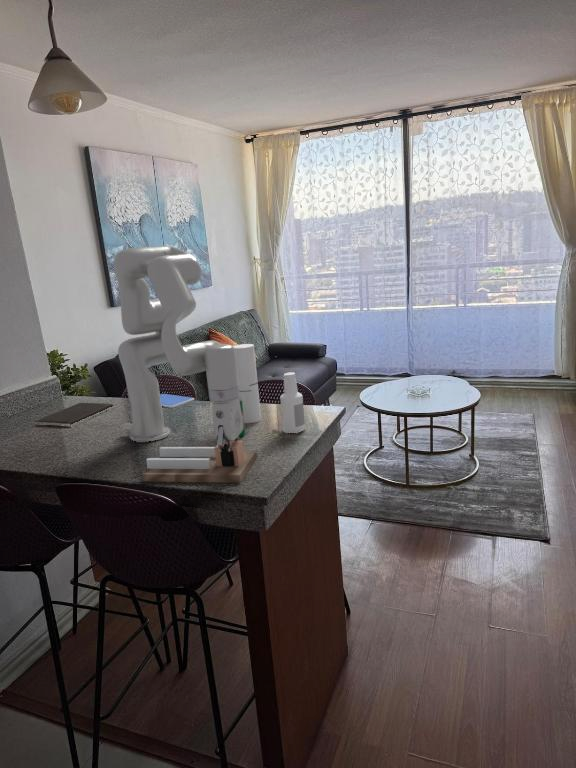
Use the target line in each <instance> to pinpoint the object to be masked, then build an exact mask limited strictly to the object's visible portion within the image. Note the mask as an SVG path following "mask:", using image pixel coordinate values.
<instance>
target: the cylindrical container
mask: <svg viewBox="0 0 576 768" xmlns="http://www.w3.org/2000/svg"><path fill="white" fill-rule="evenodd" d="M232 346H233V348H234V351H235V359H236V368H237V378H238V387H239V396H240V397H241V400H242V404H243V413H244V423H245V424H253V423H258V422H260V421H261V420H262V414H261V402H260V393H259V383H258V374H257V373H258V372H257V364H256V363H257V362H256V353H255V352H256V350H255V345H254V343H243V344H242V343H241V344H235V345H232Z"/></svg>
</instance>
